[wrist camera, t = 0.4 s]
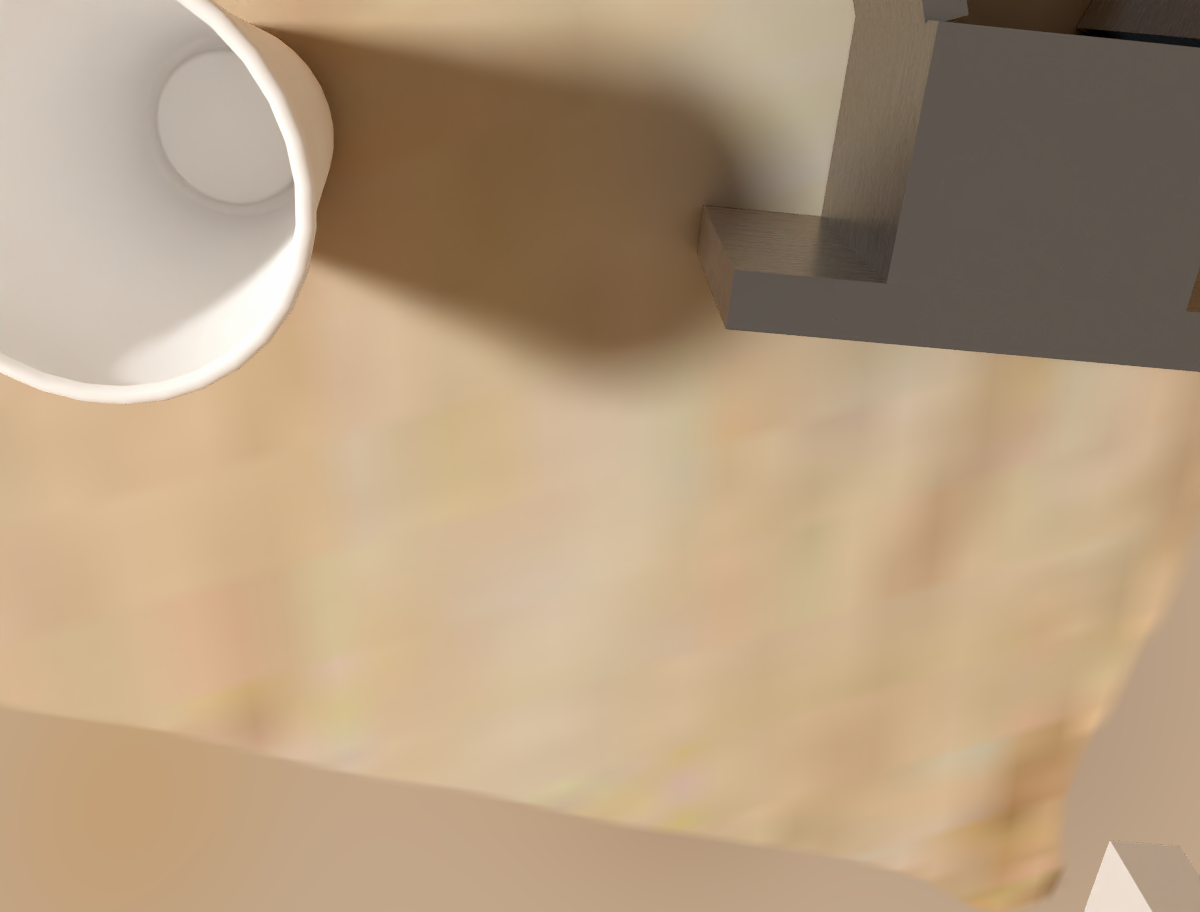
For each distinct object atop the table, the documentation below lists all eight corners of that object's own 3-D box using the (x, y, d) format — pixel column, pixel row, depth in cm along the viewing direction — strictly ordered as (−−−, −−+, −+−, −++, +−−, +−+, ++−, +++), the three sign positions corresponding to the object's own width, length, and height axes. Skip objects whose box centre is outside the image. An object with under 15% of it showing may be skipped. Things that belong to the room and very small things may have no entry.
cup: (416, -15, 32) (335, -14, 22) (380, 311, 36) (297, 439, 26) (69, -83, 32) (-179, -114, 21) (69, 257, 35) (-141, 366, 25)
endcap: (749, -154, 31) (801, -200, 23) (1273, -98, 32) (1496, -124, 24) (697, 252, 35) (725, 329, 28) (1156, 295, 36) (1312, 381, 28)
